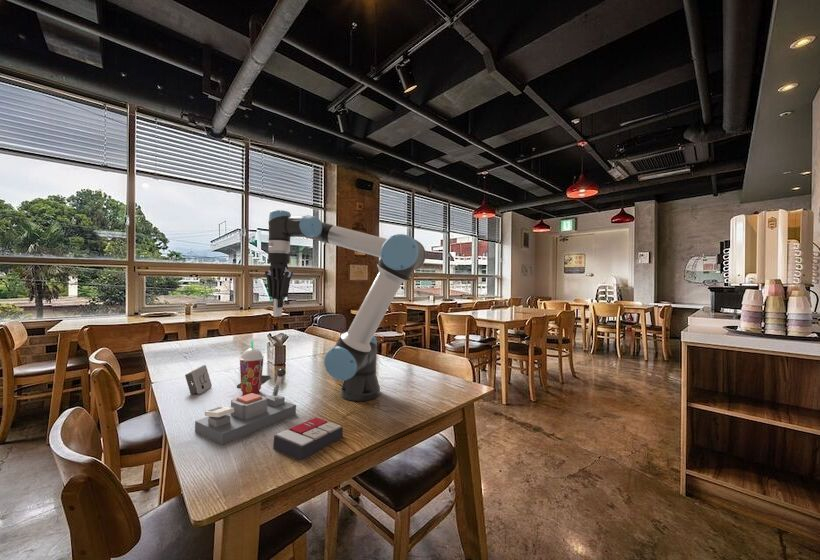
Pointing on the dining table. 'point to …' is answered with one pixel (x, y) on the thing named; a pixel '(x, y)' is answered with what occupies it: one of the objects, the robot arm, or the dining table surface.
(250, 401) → the push button
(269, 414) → the switch panel
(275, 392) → the toggle lever
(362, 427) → the dining table surface
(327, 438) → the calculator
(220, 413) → the rocker switch
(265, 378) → the phone
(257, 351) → the smoothie
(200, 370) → the electrical switch
